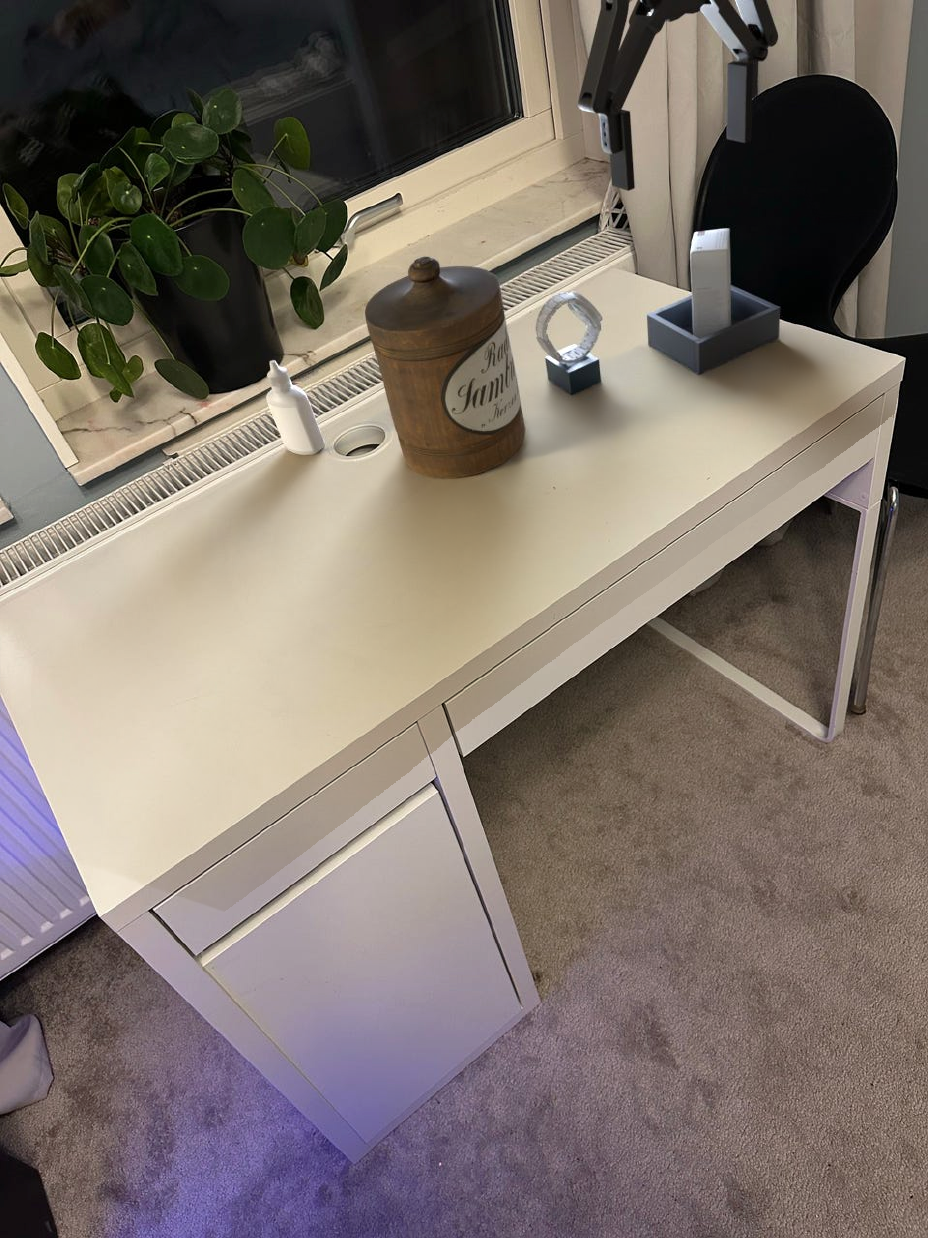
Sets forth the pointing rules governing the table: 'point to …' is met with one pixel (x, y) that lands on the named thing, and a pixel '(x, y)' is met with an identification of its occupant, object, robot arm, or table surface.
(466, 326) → the wooden container
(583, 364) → the watch
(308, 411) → the eye dropper bottle
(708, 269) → the cosmetic box
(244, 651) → the table surface
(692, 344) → the holder
